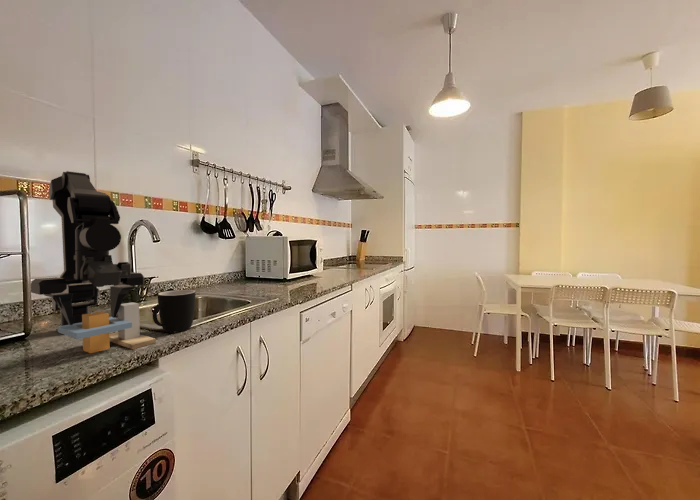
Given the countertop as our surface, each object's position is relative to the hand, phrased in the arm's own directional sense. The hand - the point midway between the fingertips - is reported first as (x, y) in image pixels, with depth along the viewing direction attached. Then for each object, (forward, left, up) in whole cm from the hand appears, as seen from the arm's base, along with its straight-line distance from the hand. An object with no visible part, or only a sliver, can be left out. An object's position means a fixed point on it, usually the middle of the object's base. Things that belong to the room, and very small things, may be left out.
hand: (93, 320), depth 70 cm
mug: (+1, +17, -7) cm, 19 cm away
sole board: (0, +7, -7) cm, 10 cm away
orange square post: (0, 0, -7) cm, 7 cm away
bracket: (0, +2, -5) cm, 6 cm away
